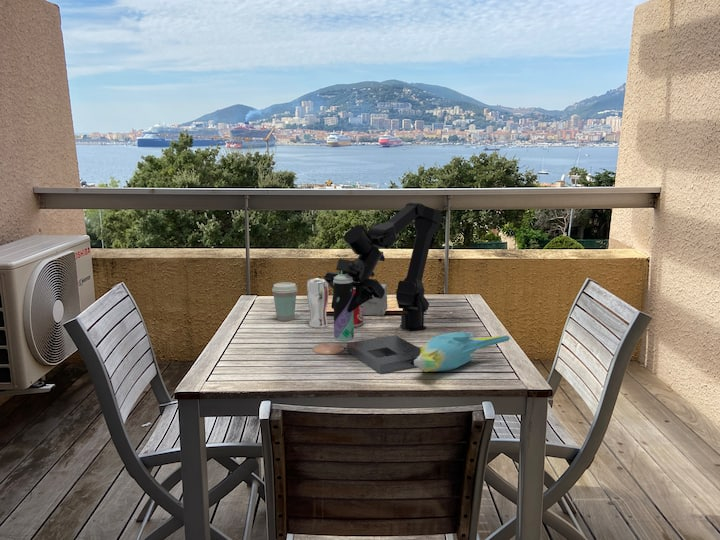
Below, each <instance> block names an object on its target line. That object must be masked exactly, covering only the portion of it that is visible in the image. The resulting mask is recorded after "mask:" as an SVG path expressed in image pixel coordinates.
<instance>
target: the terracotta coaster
mask: <svg viewBox="0 0 720 540" xmlns="http://www.w3.org/2000/svg"><path fill="white" fill-rule="evenodd" d="M344 350H345V347H344V346H343V345H342V344H341V343H340V344H339V343H334V342H326V343H319V344H316V345H314V346H313V347H312V351H313V352H314V353H316V354H317V355H318V354H319V355H326V356H327V355H329V356H330V355H336V354H340V353H342V352H343V351H344Z"/></svg>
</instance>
